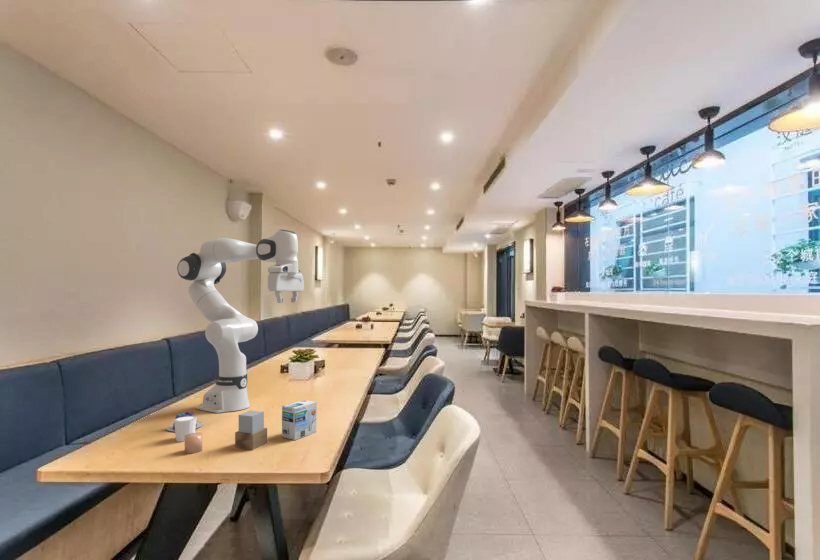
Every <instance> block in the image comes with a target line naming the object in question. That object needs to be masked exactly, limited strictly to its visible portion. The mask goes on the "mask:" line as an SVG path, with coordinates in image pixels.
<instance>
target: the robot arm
mask: <svg viewBox="0 0 820 560" xmlns="http://www.w3.org/2000/svg"><path fill="white" fill-rule="evenodd" d="M199 250H200V251H199V252H198V253H195V252H191V253H190V254H189V255H187V256H185V257H182V258H181V259H180V261H178V264H177V273H178V276H179V277H180V278H181V279H184V280H186V281H193V282H192V283H190V285H189V287H188V293H189V296H190V298H191V300H192V302H193V303H194V304H195V306H196V307H197V309H198V310H199V312H200V313H201V314H202V315H203V316H204V318H205V319H206V320H207V321H209V322H210V323H208V324H207V326H206V327H205V331H204V332H205V333H204V334H205V335H204V336H205V338H206V340H207V342H208V343H210V344H211V345H212V346H213V348H214V349H215V352H216V354H217V358H218V376H217V377H214V381H216V382H215V384H214V385H213V386H212V387H211V388H210V389H208V390H207V391H206V392H205V393H204V394H203V397H202V403H200V404H198V405H196V409H197V410H201V411H204V412H210V413H214V414H219V413H220V414H221V413H227V412H235V411H241V410H245V409H248V408H249V407H250V406H251V404H250V401H249V394H248V386H247V385H248V373H247V356H246V355H245V354H244V352H241V350H240V347H239V343H244V342H248V341H250V340H252V339H254V338H255V337H256V336H257V335H258V333H259V332H258V331H259V327H258V326H259V325H258V323H257V322H256V320H254V319H253V318H250V317H249V316H246V315H244V314H242V313H241V312H240V311H238V310H237V309H236V308H234V307H233V306H231V304H229V303H228V302H227V300H226V299H225V298H224V296H223V295H222V294H221V293H220V292H219V290H218V289H217V288H216V287H215V285H218V283H220V282H221V280H222V279H223V277H224V276H225V274H226V272H227V265H226V264H228V263H229V264H231V263H238V262H245V261H249V260H250V261H251V260H261V261H264V262H268V263H275V264H273V265H271V266H269V267H267V273H268V275H267V289H268V291H269V292H274V295H275V297H276V303H277V304H282V303H284V298H283V297H282V293H283V292H291V293H292V297H291V298H290V302H291V303H297V298H298V296H299V292H304V291H305V282H304V275H303V274H302V272H301V270H300V269H299V260H298V254H299V239H298V236H297V233H296V232H295V231H293V230H287V229H278V230H277V231H276V232H275V233H274V234H273V235H271V236H270V237H269V236H268V237H266V238H262V239H260V240H259V241H258V242H257V244H254V243H252V242H247V241H242V240H239V239H235V238H231V237H230V238H229V237H218V238H213V239H209V240H206V241H204V242H202V244H201V245H200V248H199Z"/></svg>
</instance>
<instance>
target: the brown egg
mask: <svg viewBox="0 0 820 560" xmlns="http://www.w3.org/2000/svg"><path fill="white" fill-rule="evenodd" d="M202 451H203V433H202V432H195V433H190V434H187V435H185V442H184V454H186V455H193V454H198V453H201V452H202Z"/></svg>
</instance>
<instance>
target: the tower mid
mask: <svg viewBox="0 0 820 560" xmlns="http://www.w3.org/2000/svg"><path fill="white" fill-rule="evenodd" d="M264 423H265V412H264V411H260V410H248V411H245V412H243V413H240V414H238V431H239V432H242V433H250V434H253V433H255V432H257V431H260V430H262V429H264V428H265V424H264Z"/></svg>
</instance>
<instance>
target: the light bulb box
mask: <svg viewBox="0 0 820 560" xmlns="http://www.w3.org/2000/svg"><path fill="white" fill-rule="evenodd" d="M317 410H318V409H317V401H311V400H307V399H302V400H299V401H295V402H292V403H288V404H285V405H282V406H281V437H282V438H285V439H289V440H293V441H296V440H299V439H301V438H304V437H307V436H310V435H313V434H316V433H317Z"/></svg>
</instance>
